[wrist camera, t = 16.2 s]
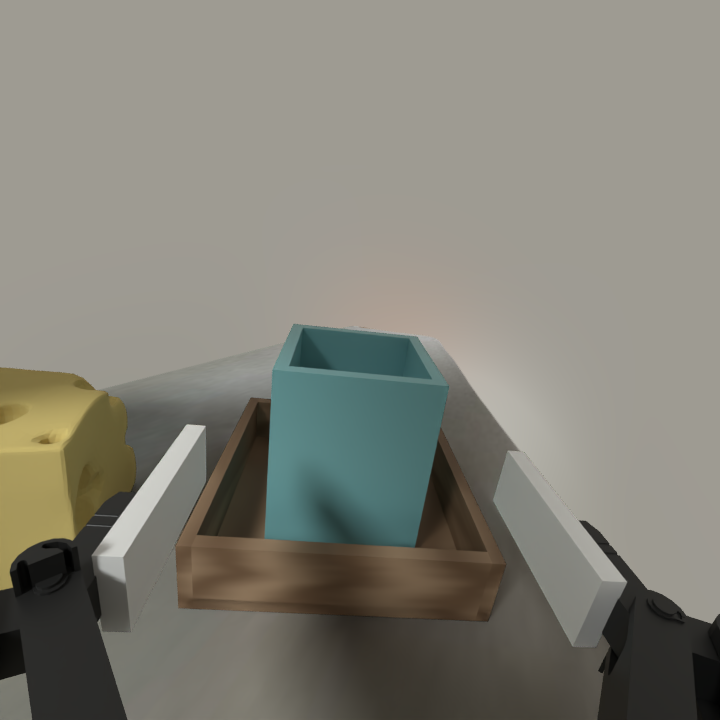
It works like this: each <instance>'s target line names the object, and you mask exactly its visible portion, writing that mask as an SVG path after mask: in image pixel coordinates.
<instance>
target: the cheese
mask: <svg viewBox="0 0 720 720" xmlns="http://www.w3.org/2000/svg"><path fill="white" fill-rule="evenodd" d="M126 430H127V412H126V408H125V406H124V404H123V402H122V401H121V400H120V399H119V398H118V397H112V396H108V393H107V392H105V391H98V390H95V389H94V388H93V387H92V386H91V385H90V384H89V383H88V382H87V381H86V380H85V379H84V378H82V377H79V376H77V375H75V374H70V373H62V372H49V371H35V370H23V369H13V368H0V590H4V589H9V588H13V585H12V581H11V577H10V568H11V564H12V563H13V561H14V560H15V559H16V557H17V556H18V555H19V554H21V553H22V552H23V551H25V550H26V549H27V548H29V547H31V546H33V545H35V544H37V543H39V542H42V541H46V540H49V539H53V538H66V539H69V540H72V541H73V540H74V538H75V537H76V536H77V535H78V534H79V532H80V531H81V530H82V529H83V527H84V526H86V524H87V523H88V521H89V520H90V519H91V518H92V516H94V515H95V513H96V512H97V510H98V509H99V508H100V507H101V505H102V504H103V503H104V502H105V501H106V500H108V499H109V498H111V497H112V496H114V495H115V494H117V493H118V492H131V490H132V488H133V485H134V483H135V477H136V461H135V455H134V451H133V448H131V447H130V446H129V445H126V444H125V434H126Z"/></svg>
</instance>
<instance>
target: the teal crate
mask: <svg viewBox="0 0 720 720" xmlns="http://www.w3.org/2000/svg"><path fill="white" fill-rule="evenodd" d="M448 390H449V385H448V384H447V382H446V381H445V379H444V377H443V376H442V374H441V373H440V371H439V370H438V368H437V367H436V365H435V364H434V362H433V360H432V359H431V357H430V356H429V354H428V353H427V351H426V350H425V348H424V347H423V345H422V343H421V342H420V340H419V339H418V337H415V336H405V335H396V334H386V333H376V332H367V331H357V330H347V329H338V328H328V327H317V326H309V325H299V324H293V326H292V328H291V331H290V333H289V335H288V337H287V339H286V342H285V344H284V346H283V348H282V350H281V352H280V355H279V357H278V359H277V361H276V363H275V366H274V368H273V372H272V392H271V413H270V434H269V455H268V476H267V497H266V518H265V539H273V540H290V541H307V542H325V543H342V544H359V545H376V546H393V547H410V548H415V544H416V539H417V535H418V530H419V525H420V520H421V516H422V511H423V506H424V502H425V497H426V492H427V488H428V483H429V478H430V474H431V469H432V464H433V460H434V455H435V450H436V446H437V441H438V436H439V432H440V427H441V422H442V418H443V413H444V408H445V404H446V399H447V394H448Z"/></svg>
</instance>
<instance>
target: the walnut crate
mask: <svg viewBox="0 0 720 720" xmlns="http://www.w3.org/2000/svg"><path fill="white" fill-rule="evenodd" d="M270 413H271V399H261V398H250V400H249V402H248V404H247V406H246V408H245V410H244V412H243V414H242V416H241V418H240V420H239V422H238V424H237V426H236V428H235V430H234V432H233V434H232V436H231V438H230V440H229V441H228V443H227V445H226V447H225V449H224V451H223V453H222V455H221V457H220V459H219V461H218V463H217V465H216V467H215V469H214V471H213V473H212V475H211V477H210V479H209V481H208V483H207V485H206V487H205V489H204V491H203V493H202V495H201V496H200V498H199V500H198V502H197V504H196V506H195V508H194V510H193V512H192V514H191V516H190V518H189V520H188V522H187V524H186V526H185V528H184V530H183V532H182V534H181V536H180V538H179V540H178V542H177V544H176V546H175V547H176V567H177V587H178V607H179V608H189V609H212V610H236V611H259V612H282V613H305V614H328V615H352V616H375V617H398V618H421V619H444V620H467V621H488V620H489V616H490V613H491V610H492V607H493V604H494V601H495V598H496V595H497V591H498V588H499V585H500V582H501V579H502V576H503V573H504V570H505V567H506V563H505V561H504V559H503V556H502V554H501V552H500V550H499V548H498V546H497V544H496V542H495V540H494V538H493V536H492V533H491V531H490V529H489V527H488V525H487V523H486V521H485V519H484V517H483V515H482V513H481V510H480V508H479V506H478V504H477V502H476V500H475V498H474V496H473V494H472V492H471V489H470V487H469V485H468V483H467V481H466V479H465V477H464V475H463V473H462V471H461V469H460V466H459V464H458V462H457V460H456V458H455V456H454V454H453V452H452V450H451V448H450V446H449V443H448V441H447V439H446V437H445V435H444V433H443V431H442V429H441V427H440V432H439V436H438V441H437V446H436V450H435V455H434V460H433V464H432V469H431V474H430V478H429V483H428V488H427V492H426V497H425V502H424V506H423V511H422V516H421V520H420V525H419V530H418V535H417V539H416V544H415V548H410V547H393V546H376V545H359V544H342V543H325V542H307V541H290V540H273V539H265V518H266V497H267V476H268V455H269V434H270Z"/></svg>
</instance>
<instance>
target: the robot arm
mask: <svg viewBox="0 0 720 720" xmlns="http://www.w3.org/2000/svg"><path fill="white" fill-rule="evenodd" d="M205 483H206V426H201V425H189V424H187V425H186V426H185V428H184V429H183V430H182V432H181V433H180V434H179V436H178V437H177V439H176V440H175V441H174V443H173V444H172V445H171V447H170V448H169V450H168V451H167V452H166V454H165V455H164V456H163V458H162V459H161V461H160V462H159V463H158V465H157V466H156V467H155V469H154V470H153V472H152V473H151V474H150V476H149V477H148V478H147V480H146V481H145V483H144V484H143V485H142V487H141V488H140V490H139V491H138V492H137V493H134V492H118V493H117V494H115V495H114V496H112V497H111V498H109V499H108V500H106V501H105V502H104V503H103V504H102V505H101V507H100V508H99V509H98V510H97V512H96V513H95V515H94V516H92V518H91V519H90V520H89V521H88V523H87V524H86V526H84V527H83V529H82V530H81V531H80V532H79V534H78V535H77V536H76V537H75V538H74V540H73V541H72V540H69V539H66V538H53V539H49V540H46V541H42V542H39V543H37V544H35V545H33V546H31V547H29V548H27V549H26V550H25V551H23V552H22V553H21V554H19V555H18V556H17V557H16V559H15V560H14V561H13V563H12V564H11V568H10V577H11V581H12V585H13V588H9V589H4V590H0V680H1V679H5V678H9V677H12V676H16V675H19V674H23V673H26V677H27V684H28V691H29V698H30V706H31V713H32V720H127V717H126V714H125V711H124V707H123V704H122V701H121V698H120V694H119V691H118V688H117V685H116V681H115V678H114V675H113V672H112V669H111V665H110V662H109V659H108V656H107V652H106V649H105V646H104V643H103V640H102V636H101V633H100V630H99V627H98V623H97V622H98V620H99V619H101V626H102V631H105V632H132V630H133V627H134V625H135V623H136V621H137V619H138V617H139V615H140V613H141V611H142V609H143V607H144V605H145V603H146V601H147V599H148V597H149V595H150V593H151V591H152V589H153V587H154V585H155V583H156V581H157V579H158V577H159V575H160V573H161V571H162V569H163V567H164V565H165V563H166V561H167V559H168V557H169V555H170V553H171V551H172V549H173V547H174V545H175V543H176V541H177V539H178V537H179V535H180V533H181V531H182V529H183V527H184V525H185V523H186V521H187V519H188V517H189V515H190V513H191V511H192V509H193V507H194V505H195V503H196V501H197V499H198V497H199V495H200V493H201V491H202V489H203V487H204V485H205ZM493 502H494V504H495V505H496V507H497V509H498V511H499V513H500V515H501V516H502V518H503V520H504V522H505V524H506V526H507V527H508V529H509V531H510V533H511V535H512V537H513V538H514V540H515V542H516V544H517V546H518V548H519V549H520V551H521V553H522V555H523V557H524V559H525V560H526V562H527V564H528V566H529V568H530V570H531V571H532V573H533V575H534V577H535V579H536V581H537V582H538V584H539V586H540V588H541V590H542V592H543V593H544V595H545V597H546V599H547V601H548V602H549V604H550V606H551V608H552V610H553V612H554V613H555V615H556V617H557V619H558V621H559V623H560V624H561V626H562V628H563V630H564V632H565V634H566V635H567V637H568V639H569V641H570V643H571V645H572V646H573V647H593V648H596V646H597V644H598V642H599V640H600V638H601V636H602V634H603V635H604V637H605V638H606V640H607V641H608V643H609V644H610V648H609V650H608V652H607V654H606V656H605V658H604V660H603V662H602V664H601V666H600V668H599V670H598V671H599V672H601V673H603V671H604V676H603V683H602V691H601V698H600V705H599V712H598V720H720V614H719V615H718V616H717V617H716V619H715V621H714V622H713V624H710V623H707V622H704V621H701V620H698V619H695V618H691V617H689V616H686V615H685V613H684V612H683V611H682V610H681V608H680V607H678V606H677V605H676V604H675V603H674V602H673V601H672V600H670V599H668V598H667V597H665V596H664V595H662V594H659V593H657V592H654V591H652V590H647V588H646V587H645V586H644V585H643V584H642V582H641V581H640V580H639V579H638V577H637V576H636V575H635V574H634V573H633V571H632V570H631V569H630V568H629V567H628V565H627V564H626V563H625V562H624V561H623V559H622V558H621V557H620V556H618V555H617V552H616V551H615V550H614V549H613V547H612V546H610V545H609V543H608V541H607V540H606V539H605V538H604V537H603V535H602V534H601V533H600V532H599V531H598V530H597V529H595V528H594V527H593V526H591V525H590V524H589V523H588V522H586V521H579V520H578V519H577V518H576V517H575V516H574V514H573V513H572V512H571V511H570V509H569V508H568V507H567V506H566V504H565V503H564V502H563V500H562V499H561V498H560V497H559V495H558V494H557V493H556V492H555V490H554V489H553V488H552V487H551V485H550V484H549V483H548V482H547V480H546V479H545V478H544V477H543V475H542V474H541V473H540V471H539V470H538V469H537V468H536V466H535V465H534V464H533V463H532V461H531V460H530V459H529V458H528V456H527V455H526V454H525V452H520V451H507V455H506V458H505V461H504V465H503V468H502V472H501V475H500V478H499V482H498V485H497V488H496V492H495V495H494V498H493Z"/></svg>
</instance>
